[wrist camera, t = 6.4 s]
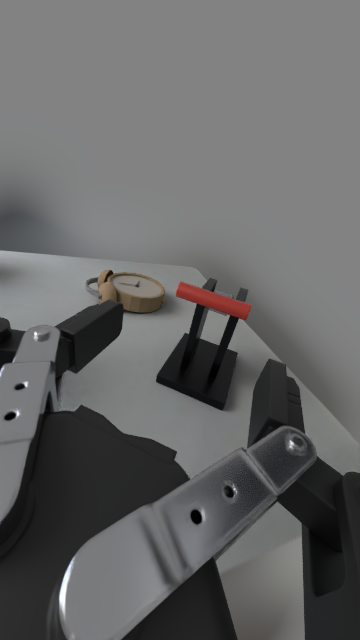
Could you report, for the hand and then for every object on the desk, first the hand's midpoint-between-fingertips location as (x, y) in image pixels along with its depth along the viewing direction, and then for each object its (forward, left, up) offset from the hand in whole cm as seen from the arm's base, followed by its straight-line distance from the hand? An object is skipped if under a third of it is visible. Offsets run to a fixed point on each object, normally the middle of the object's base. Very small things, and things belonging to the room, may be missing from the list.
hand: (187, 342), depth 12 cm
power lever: (+6, -10, -4) cm, 12 cm away
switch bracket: (+8, -14, -16) cm, 22 cm away
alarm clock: (+30, -14, -16) cm, 37 cm away
